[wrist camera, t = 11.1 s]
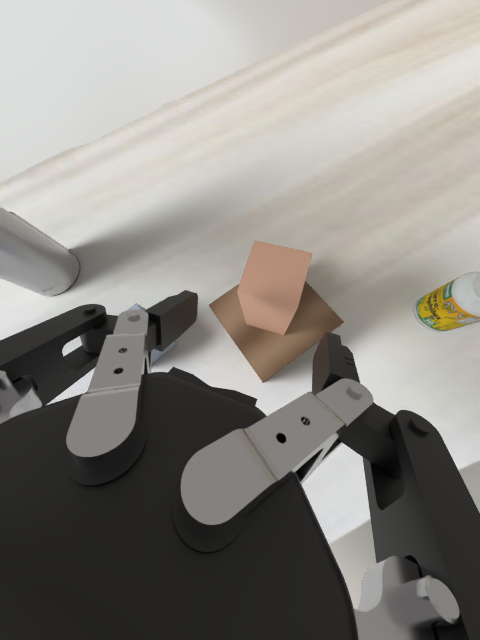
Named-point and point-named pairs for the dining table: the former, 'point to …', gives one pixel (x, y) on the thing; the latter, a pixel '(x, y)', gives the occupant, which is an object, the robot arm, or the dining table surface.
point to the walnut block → (272, 348)
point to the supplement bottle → (451, 304)
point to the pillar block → (272, 286)
